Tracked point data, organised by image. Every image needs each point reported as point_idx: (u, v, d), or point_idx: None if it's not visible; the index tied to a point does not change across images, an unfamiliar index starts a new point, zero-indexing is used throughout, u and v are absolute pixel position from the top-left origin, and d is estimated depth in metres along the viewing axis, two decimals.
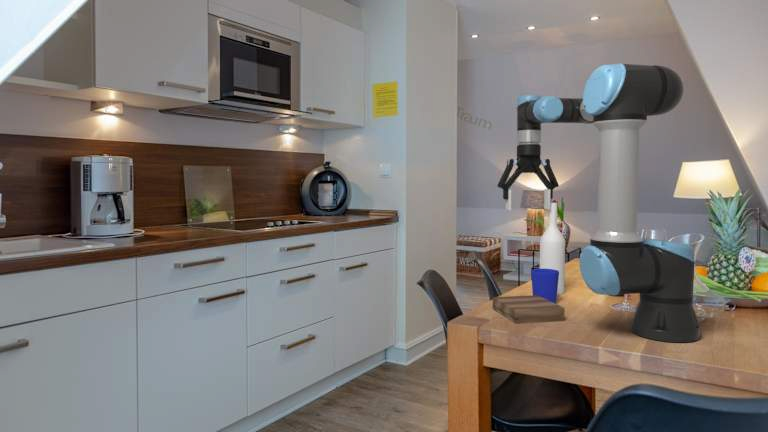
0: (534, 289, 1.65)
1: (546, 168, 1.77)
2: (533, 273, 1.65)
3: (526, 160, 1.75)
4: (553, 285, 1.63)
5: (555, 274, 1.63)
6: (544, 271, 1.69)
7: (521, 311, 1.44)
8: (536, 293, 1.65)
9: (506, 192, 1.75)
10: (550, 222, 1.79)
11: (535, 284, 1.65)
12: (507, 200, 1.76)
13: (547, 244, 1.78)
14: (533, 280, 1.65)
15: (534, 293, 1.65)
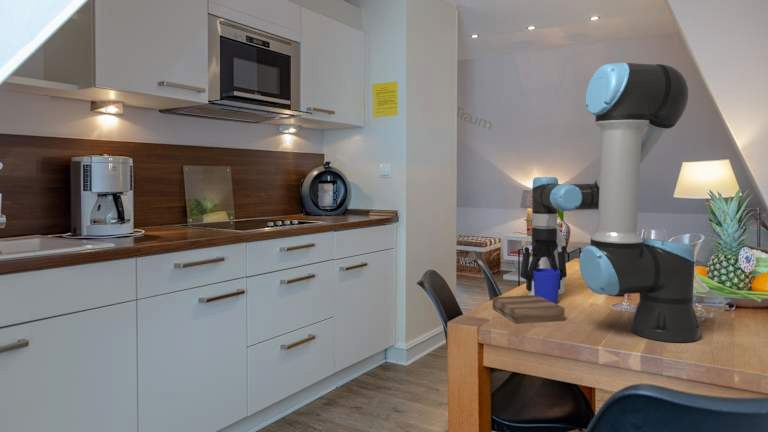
0: (535, 289, 1.65)
1: (560, 255, 1.68)
2: (534, 273, 1.65)
3: (541, 242, 1.66)
4: (555, 285, 1.63)
5: (556, 274, 1.63)
6: (545, 271, 1.70)
7: (521, 311, 1.44)
8: (537, 293, 1.65)
9: (529, 283, 1.67)
10: None
11: (536, 284, 1.65)
12: (530, 291, 1.68)
13: None
14: (534, 280, 1.65)
15: (535, 293, 1.66)
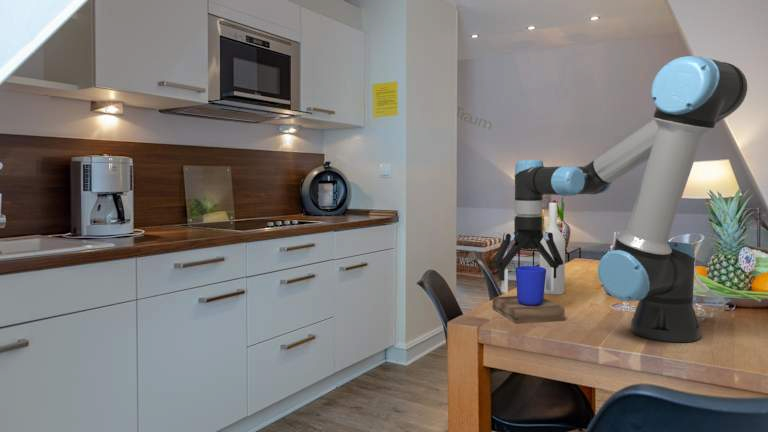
0: (518, 289, 1.49)
1: (549, 243, 1.52)
2: (517, 271, 1.49)
3: (525, 235, 1.50)
4: (540, 285, 1.47)
5: (541, 272, 1.46)
6: (530, 269, 1.53)
7: (521, 311, 1.44)
8: (521, 293, 1.48)
9: (502, 272, 1.50)
10: (550, 222, 1.79)
11: (519, 283, 1.48)
12: (503, 281, 1.51)
13: None
14: (517, 279, 1.49)
15: (518, 293, 1.49)
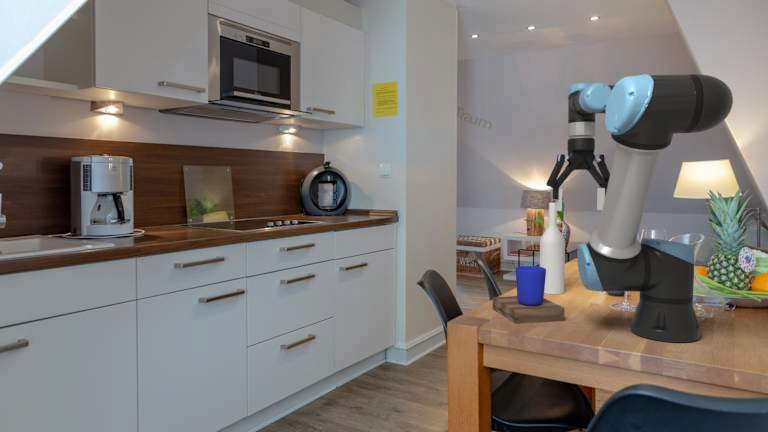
0: (518, 289, 1.49)
1: (600, 164, 1.60)
2: (517, 271, 1.49)
3: (578, 156, 1.57)
4: (540, 285, 1.47)
5: (541, 272, 1.46)
6: (530, 269, 1.53)
7: (521, 311, 1.44)
8: (521, 293, 1.48)
9: (556, 191, 1.57)
10: (550, 222, 1.79)
11: (519, 283, 1.48)
12: (557, 200, 1.58)
13: (547, 244, 1.78)
14: (517, 279, 1.49)
15: (518, 293, 1.49)
